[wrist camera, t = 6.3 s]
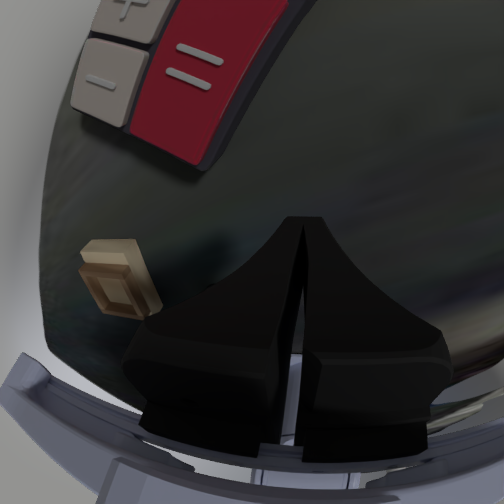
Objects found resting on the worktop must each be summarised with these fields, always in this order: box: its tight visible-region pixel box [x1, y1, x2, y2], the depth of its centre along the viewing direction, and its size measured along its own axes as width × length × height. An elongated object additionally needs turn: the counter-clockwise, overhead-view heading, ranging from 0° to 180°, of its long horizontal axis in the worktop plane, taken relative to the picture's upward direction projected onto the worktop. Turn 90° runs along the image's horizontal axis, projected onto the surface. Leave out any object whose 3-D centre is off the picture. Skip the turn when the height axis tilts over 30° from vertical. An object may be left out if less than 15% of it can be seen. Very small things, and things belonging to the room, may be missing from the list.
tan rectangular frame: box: [78, 239, 163, 320], centre depth 23 cm, size 8×6×3 cm
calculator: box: [71, 0, 317, 171], centre depth 10 cm, size 11×4×15 cm
